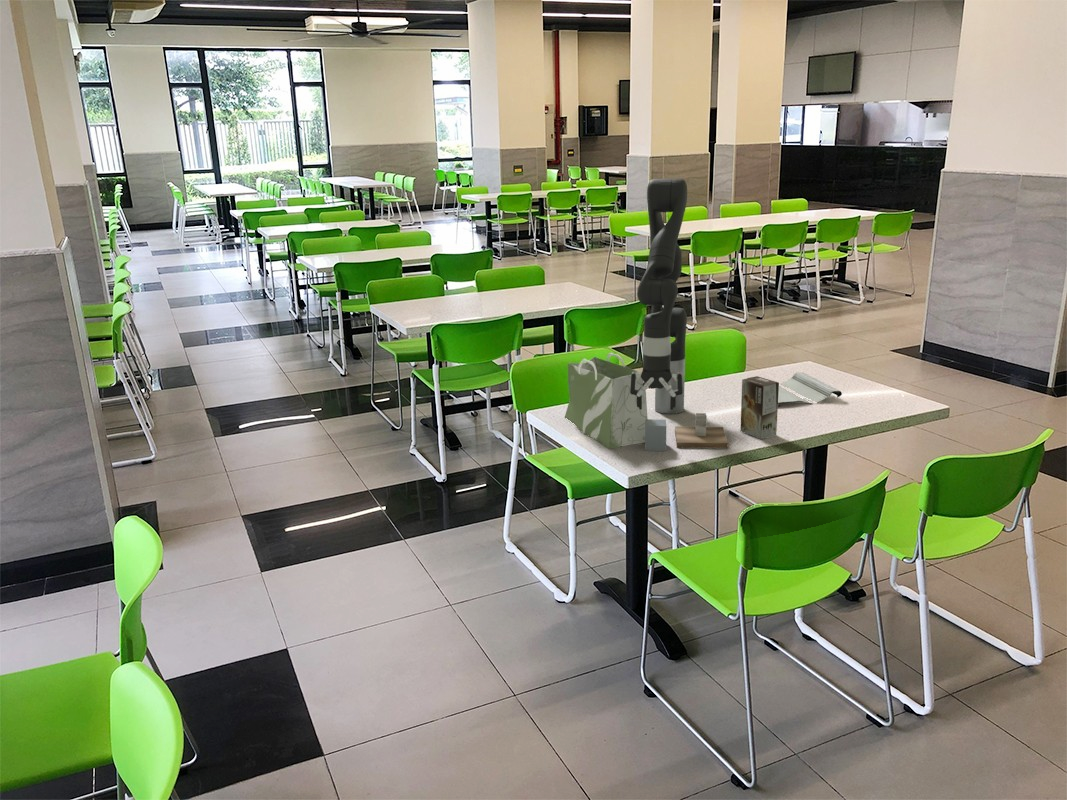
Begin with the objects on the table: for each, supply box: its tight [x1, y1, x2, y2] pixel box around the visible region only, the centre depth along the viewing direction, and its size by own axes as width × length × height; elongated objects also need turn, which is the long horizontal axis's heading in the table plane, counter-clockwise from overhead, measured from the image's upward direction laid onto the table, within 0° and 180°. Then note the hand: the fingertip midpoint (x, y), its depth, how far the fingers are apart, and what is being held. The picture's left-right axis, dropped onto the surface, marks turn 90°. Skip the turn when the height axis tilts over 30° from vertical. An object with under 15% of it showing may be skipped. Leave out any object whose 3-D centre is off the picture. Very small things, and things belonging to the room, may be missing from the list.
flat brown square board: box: [674, 412, 729, 449], centre depth 235 cm, size 14×14×8 cm
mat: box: [778, 371, 843, 405], centre depth 275 cm, size 23×24×5 cm
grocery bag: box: [564, 352, 649, 450], centre depth 244 cm, size 32×14×23 cm, turn 22°
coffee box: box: [739, 375, 780, 440], centre depth 238 cm, size 9×6×16 cm
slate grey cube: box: [644, 418, 667, 452], centre depth 231 cm, size 6×6×7 cm
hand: (655, 408), depth 228 cm, fingers open, 8 cm apart
